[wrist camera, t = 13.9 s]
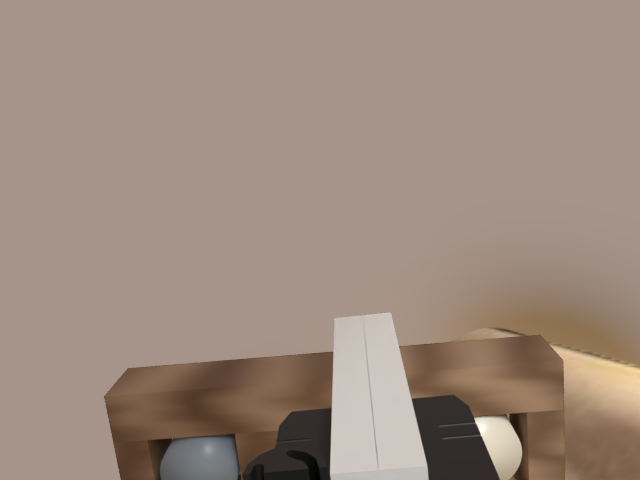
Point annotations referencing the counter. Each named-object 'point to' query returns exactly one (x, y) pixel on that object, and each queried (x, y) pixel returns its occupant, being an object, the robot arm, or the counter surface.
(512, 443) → the ivory button
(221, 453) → the slate button
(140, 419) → the brown wooden rectangular frame
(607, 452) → the counter surface
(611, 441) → the counter surface
